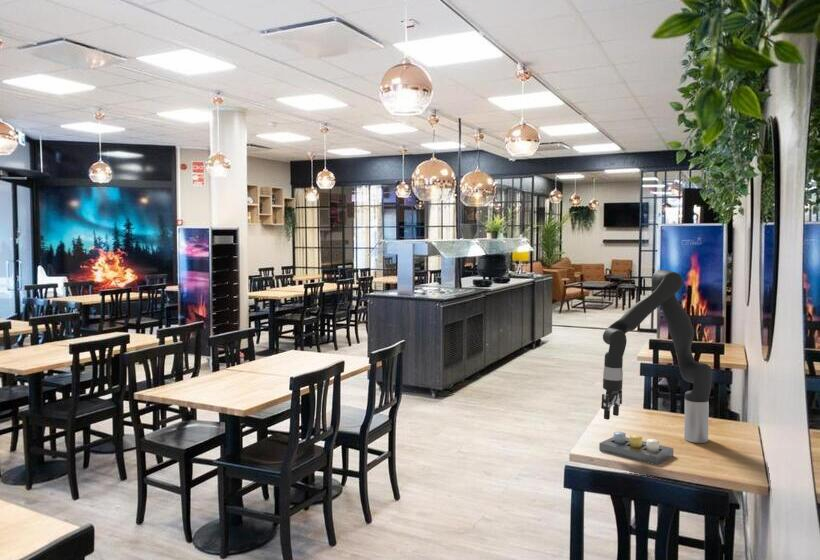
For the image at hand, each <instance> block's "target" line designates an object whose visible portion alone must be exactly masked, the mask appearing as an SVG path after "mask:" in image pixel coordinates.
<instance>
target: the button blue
mask: <svg viewBox="0 0 820 560" xmlns="http://www.w3.org/2000/svg"><path fill="white" fill-rule="evenodd" d="M626 435H627V434H626V432H624V431H614V432H613V437H614V443H617V444H621V445H623V444H625V443H626Z"/></svg>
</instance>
